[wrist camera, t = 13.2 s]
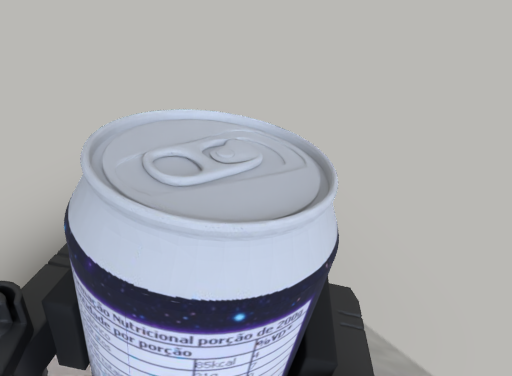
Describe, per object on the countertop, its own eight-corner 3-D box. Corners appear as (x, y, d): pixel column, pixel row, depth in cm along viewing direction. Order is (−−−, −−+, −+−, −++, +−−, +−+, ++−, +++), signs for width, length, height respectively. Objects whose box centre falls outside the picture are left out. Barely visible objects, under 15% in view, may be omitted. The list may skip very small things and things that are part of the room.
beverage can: (285, 435, 12) (410, 182, 6) (154, 586, 9) (154, 328, 3) (205, 331, 16) (237, 97, 10) (85, 410, 12) (15, 114, 6)
